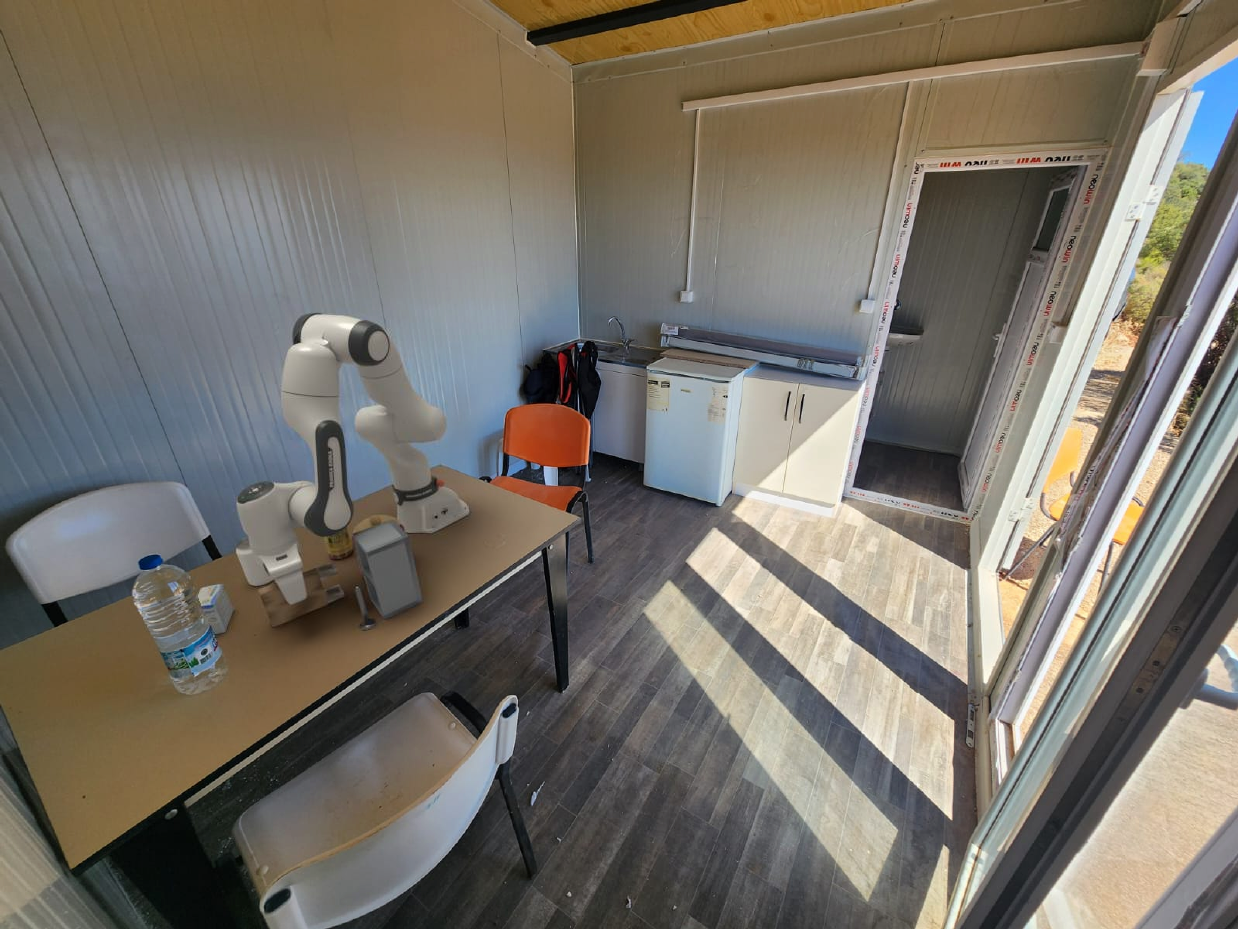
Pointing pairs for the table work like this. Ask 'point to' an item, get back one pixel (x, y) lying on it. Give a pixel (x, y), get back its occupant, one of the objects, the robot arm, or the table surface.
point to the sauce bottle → (339, 544)
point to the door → (316, 598)
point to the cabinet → (388, 568)
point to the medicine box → (216, 606)
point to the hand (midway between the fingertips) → (294, 596)
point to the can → (251, 565)
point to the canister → (372, 522)
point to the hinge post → (364, 612)
